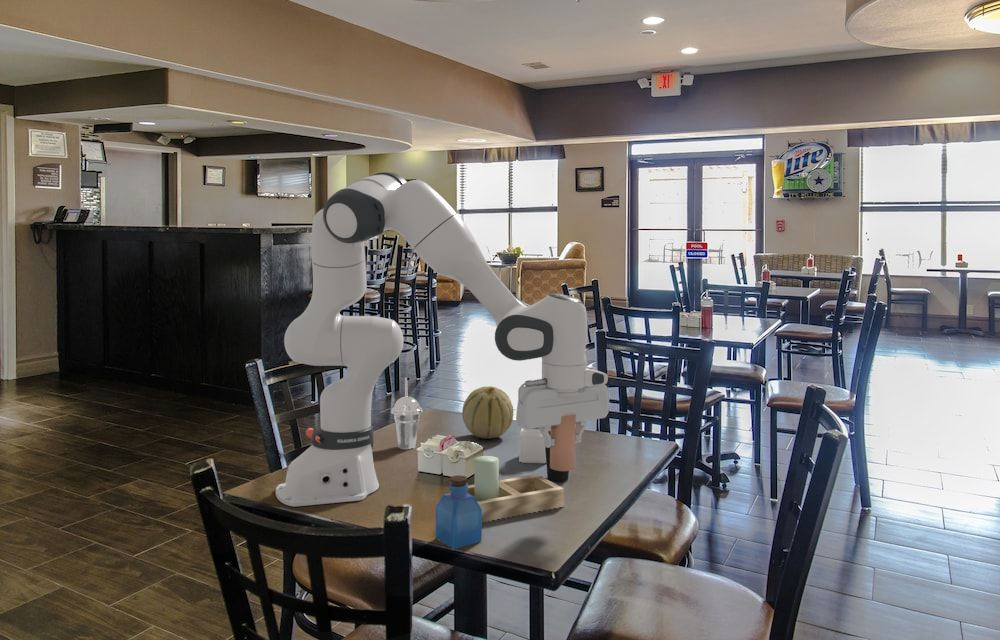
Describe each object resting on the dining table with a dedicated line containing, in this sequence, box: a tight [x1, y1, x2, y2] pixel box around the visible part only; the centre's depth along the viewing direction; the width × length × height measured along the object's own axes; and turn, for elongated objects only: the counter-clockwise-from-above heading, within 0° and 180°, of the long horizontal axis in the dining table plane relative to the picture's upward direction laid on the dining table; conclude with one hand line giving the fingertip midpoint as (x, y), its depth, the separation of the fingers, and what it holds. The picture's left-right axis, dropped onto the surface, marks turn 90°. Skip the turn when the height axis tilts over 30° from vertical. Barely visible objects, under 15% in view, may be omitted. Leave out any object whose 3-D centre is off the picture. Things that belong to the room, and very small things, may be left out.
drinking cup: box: [545, 431, 570, 483], centre depth 177 cm, size 8×8×20 cm
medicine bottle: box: [518, 427, 546, 464], centre depth 193 cm, size 7×7×12 cm
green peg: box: [474, 455, 500, 501], centre depth 156 cm, size 5×5×11 cm
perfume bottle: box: [435, 475, 483, 550], centre depth 141 cm, size 6×6×12 cm
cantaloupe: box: [461, 385, 515, 440], centre depth 213 cm, size 15×15×15 cm
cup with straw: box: [390, 376, 424, 450], centre depth 202 cm, size 8×9×20 cm
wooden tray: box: [466, 474, 565, 524], centre depth 159 cm, size 21×11×4 cm, turn 118°
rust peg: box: [550, 415, 577, 472], centre depth 150 cm, size 5×5×11 cm
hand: (562, 444), depth 151 cm, fingers closed on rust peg, 5 cm apart
